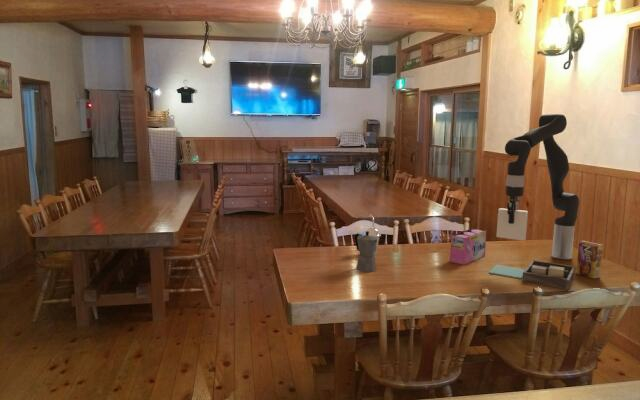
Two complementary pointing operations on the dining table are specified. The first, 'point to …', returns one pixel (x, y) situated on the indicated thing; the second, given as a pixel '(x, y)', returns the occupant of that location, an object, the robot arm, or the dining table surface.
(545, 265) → the tray
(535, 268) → the grey mdf offcut
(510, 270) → the teal mat
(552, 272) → the birch offcut
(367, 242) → the coffeepot
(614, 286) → the dining table surface
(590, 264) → the candy box
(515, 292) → the dining table surface
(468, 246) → the pink multipack
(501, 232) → the white square slab
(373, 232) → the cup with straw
